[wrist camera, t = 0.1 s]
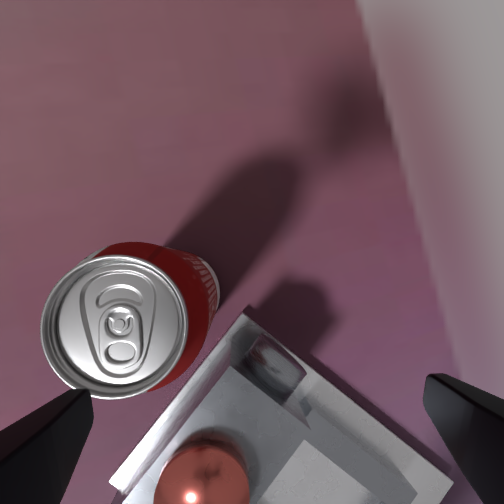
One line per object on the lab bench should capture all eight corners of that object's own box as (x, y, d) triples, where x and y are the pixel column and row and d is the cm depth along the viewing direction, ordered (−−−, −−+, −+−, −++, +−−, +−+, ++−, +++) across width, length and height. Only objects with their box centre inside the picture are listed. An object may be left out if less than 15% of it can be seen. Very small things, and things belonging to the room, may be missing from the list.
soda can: (218, 249, 23) (200, 234, 11) (222, 331, 23) (208, 409, 11) (134, 253, 22) (19, 242, 10) (137, 337, 22) (23, 425, 10)
